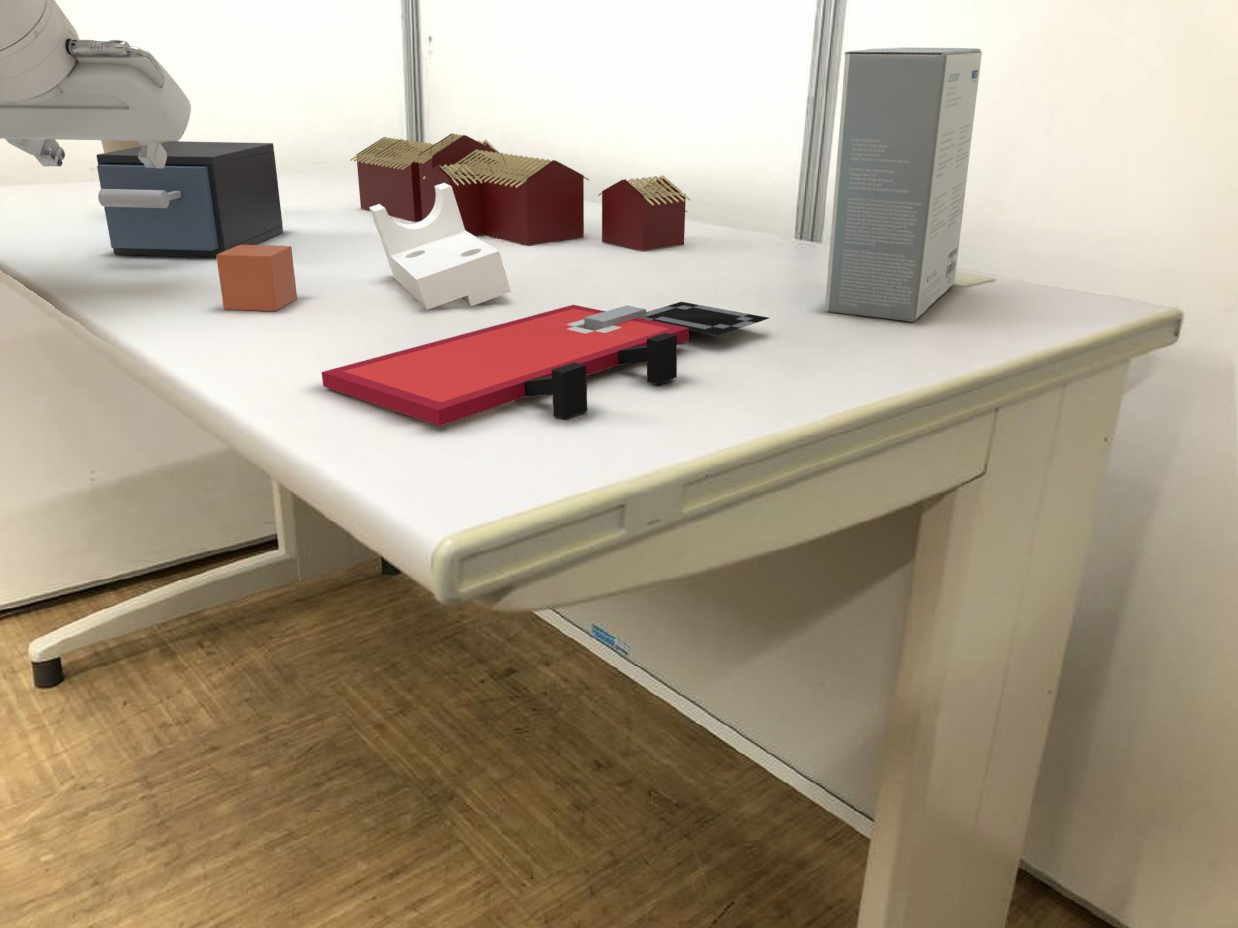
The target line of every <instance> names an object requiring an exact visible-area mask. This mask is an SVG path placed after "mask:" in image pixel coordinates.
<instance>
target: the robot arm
mask: <svg viewBox="0 0 1238 928" xmlns="http://www.w3.org/2000/svg"><path fill="white" fill-rule="evenodd" d="M191 112H192V103H191V102H190V100H189V98H188V96H187V95H186V93H185V92H184V91H183V90H182V88H181V87H180V85H178V83H177V81H175V79H174V78H173V77H172V76H171V74H170V73H169V72H168V71H167V70H166V68H165V67H164V66H163V65H162V64H161V62H159V61H158V60H157V59H156V57H155V56H154V55H153V54H152V53H151V52H150V51H148V50H144V49H142V48H140V47H137V46H133V45H130V43H129V42H127V41H125V40H120V39H109V40H95V39H80V36H79V33H78V31H77V30H76V28H75V26H73V24H72V23H71V21H70V20H69V18H68V17H67V15H66V14H65V13H64V11H63V10H62V8H61V7H60V6H59V4H58V2H57V1H56V0H0V140H1V139H3V140H5V141H6V142H7V143H8V144H9V145H11V146H13V147H14V148H17V149H19V150H21V151H23V152H24V153H27V154H29V155H30V156H33V157H34V158H35V159H36V160H37V161H38V163H40V165H41V166H42V167H44V168H46V167H49V168H50V167H62V165H63V163H64V162H63V160H64V159H65V157H66V152H65V149H63V147H62V146H60V144H59V142H58V140H59V141H61V140H62V141H65V140H66V141H67V140H68V141H101V140H117V141H137V142H138V143H139V144H140V145H141V148H142V149H141V150H140V151H139V155H138V158H139V159H140V161H141V162H142V163H144V166H145V167H146V168H158V169H163V168H164V167H165V163H166V160H167V153H166V151H165V149H164V148H163V147H162V145H161V144H160V141H180V140H181V139H182V137H183V135H184V134H185V132H186V129H187V127H188V125H189V121H190V117H191Z"/></svg>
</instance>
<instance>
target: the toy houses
mask: <svg viewBox="0 0 1238 928" xmlns="http://www.w3.org/2000/svg"><path fill="white" fill-rule="evenodd" d="M349 160H350V162H352V161H353V162H356V167H357V181H358V192H359V202H360V203H359V204H360V209H361V210H365V211H369V212H371V211H370V208H369V207H372V206H375V205H378V204H380V205H381V206H383V207H384V208H385V209H386V211H387V213H388V215H389V216H390V217H394V218H399V219H401V220H407V221H411V222H414V223H417V222H420V221H422V220H424V219H425V218H426V217H427V216H428V215H429V214H430V212H431V211H432V209H433V207H434V204H435V200H436V191H435V186H436V185H439V184H442V183H446V184H448V185H450V186H452V190H453V193H454V196H455V199H456V202H457V206H458V209H459V212H460V215H461V219H462V222H463V225H464V228H465V231H467V232H469V233H470V234H472V235H474V236H475V237H477V236H482V235H483V236H487V237H491V238H495V239H499V240H504V241H508V242H512V243H516V244H521V245H525V246H533V245H540V244H548V243H555V242H560V241H567V240H575V239H582V238H583V239H584V238H585V233H584V232H585V212H584V211H585V199H584V198H585V189H584V188H585V185H584V184H585V180H586V181H590V178H588V177H586V176H584V174H582V173H581V172H578V171H576V170H574V169H573V168H571V167H569V166H567V165H566V164H563V163H561V162H560V161H558V160H556V159H552V160H550V159H548V158H547V159H544V158H539V157H536V158H534V157H533V156H530V157H529V156H527V155H525V156H523V155H517V154H513V153H510V154H508V153H503V152H500V151H499V150H498V149H496V148H495V147H494V146H493V144H491V143H490V142H489V141H488V140H487V139H484V140H483V141H482V140H481V139H479V140H476V139H474V138H472V137H471V136H468V135H465V134H457V133H450V134H448V135H446V136H445V137H444V138H442V139H440V140H439V141H438V142H435V143H431V142H429V143H428V142H423V141H422V142H421V141H415V140H413V141H412V140H409V139H403V138H394V137H393V138H392V137H387V136H383V137H382V138H380V139H378V140H377V141H375V142H373V143H372V144H370V145H369V146H367V147H366V148H364V149H363V150H361V151H359V152H358V153H356V154H355V156H353V157H352V158H350V159H349ZM600 196H601V243H604V244H609V245H614V246H619V247H623V248H627V249H633V250H637V251H641V252H645V251H650V250H657V249H662V248H670V247H677V246H681V245H682V246H683V245H685V231H686V213H688V210H686V201H687V200H688V201H689V202H691V198H690V197H689V196H688V195H687V194H686V193H684V192H683V191H682V190H681V189H680V188H678V187H677V186H676V185H675V184H674V183H673V182H672V181H670V180H669V178H667V177H666V176H664V175H660V176H657V175H654V176H648V177H647V178H646V177H644V176H643V177H642V178H639V177H637V178H630V179H628V180H627V179H626V178H625V179H624V178H623V179H620V180H619V181H617V182H615V183H614V184H612V185H610V186H608V187H606V188H605V189H603V190H602V191H601V192H600V193H598V194H597V197H600Z"/></svg>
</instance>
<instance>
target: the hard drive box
mask: <svg viewBox="0 0 1238 928" xmlns="http://www.w3.org/2000/svg"><path fill="white" fill-rule="evenodd" d="M982 54H983V52H982V50H981V48H975V47H972V48H971V47H970V48H969V47H885V48H867V49H858V50H847V51H845V52H844V64H843V65H844V67H843V78H842V92H841V106H840V118H839V127H838V128H839V130H838V141H837V142H838V143H837V153H836V154H837V155H836V168H835V179H834V190H833V191H834V192H833V205H832V206H833V207H832V216H831V229H830V241H829V253H828V254H829V255H828V266H827V276H826V277H827V278H826V291H825V304H824V311H825V312H828V313H836V314H844V315H853V316H854V315H855V316H863V317H870V318H880V319H888V320H897V321H902V322H903V321H904V322H915V321H916V320H918V318H919V317H921V315H923V314H924V313H925V312H926V311H927V310H928V309H929V307H931V305H933V304H934V303H935V302H936V301H937V300H938V299H939V298H941V296H943V295H944V294H945V293H946V292H948V290H949V289H950V288H951V287H952V286H953V285H954V284H955V279H956V272H957V266H958V256H959V250H960V249H959V247H960V240H961V230H962V221H963V215H964V206H965V195H966V187H967V180H968V173H969V172H968V170H969V165H970V163H969V162H970V154H971V146H972V137H973V130H974V121H975V113H976V112H975V111H976V105H977V96H978V89H979V80H980V74H981V73H980V72H981V64H982Z"/></svg>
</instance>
